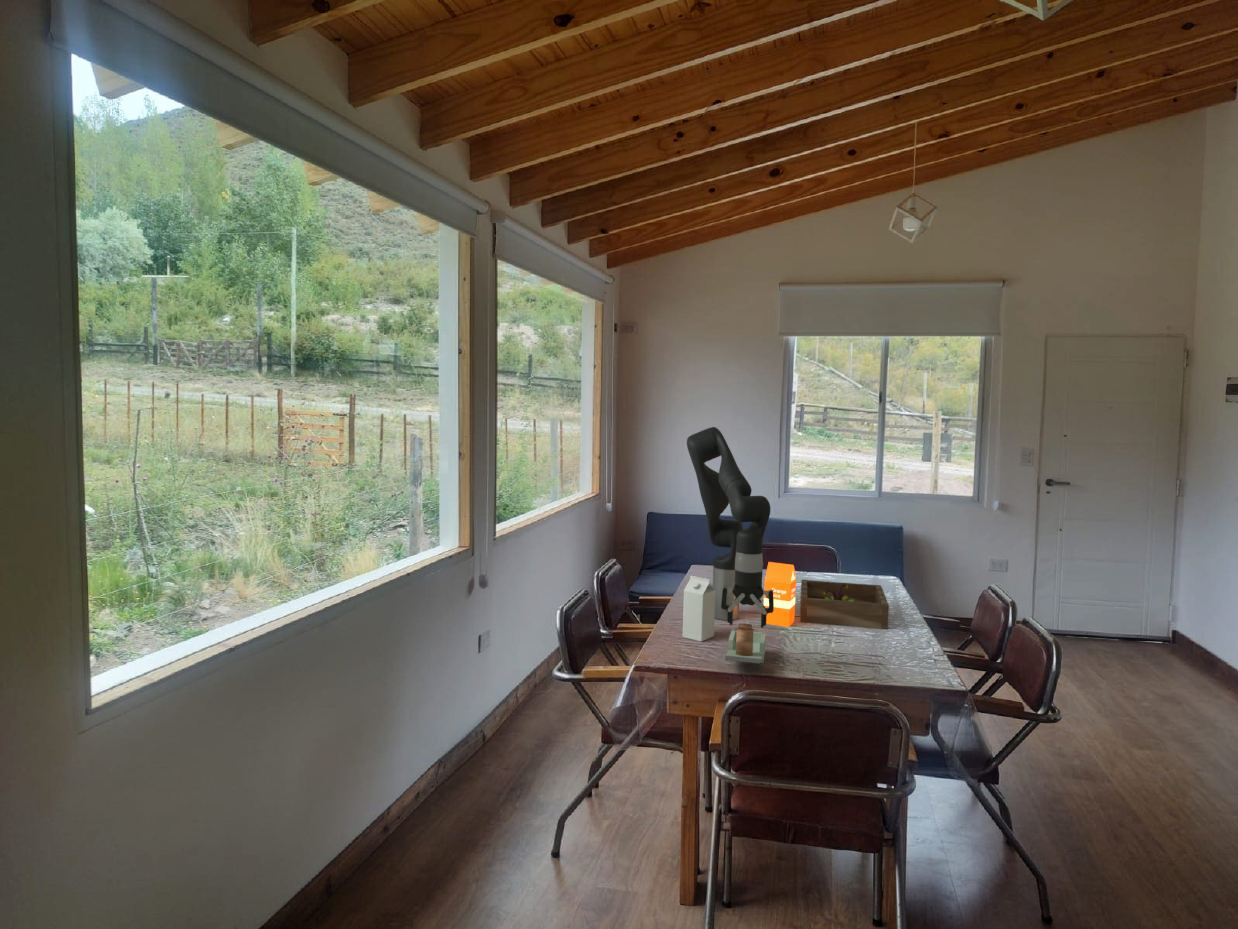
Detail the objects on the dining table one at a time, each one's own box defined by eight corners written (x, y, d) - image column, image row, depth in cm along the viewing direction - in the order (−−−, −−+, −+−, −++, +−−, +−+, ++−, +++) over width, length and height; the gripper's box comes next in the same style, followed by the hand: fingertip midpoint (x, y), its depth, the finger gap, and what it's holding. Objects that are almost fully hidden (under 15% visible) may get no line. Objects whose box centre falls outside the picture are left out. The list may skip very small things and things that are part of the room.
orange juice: (768, 617, 274) (771, 559, 272) (794, 621, 270) (797, 562, 268) (762, 623, 267) (764, 564, 265) (788, 627, 263) (791, 567, 262)
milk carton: (695, 632, 256) (696, 573, 254) (713, 637, 251) (716, 577, 250) (682, 637, 250) (684, 577, 249) (701, 642, 246) (703, 581, 244)
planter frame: (800, 600, 296) (801, 579, 296) (879, 607, 290) (881, 585, 290) (800, 622, 269) (801, 598, 269) (887, 629, 263) (889, 605, 262)
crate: (730, 649, 240) (731, 629, 239) (764, 652, 238) (765, 632, 237) (727, 660, 230) (728, 640, 229) (763, 663, 228) (764, 643, 227)
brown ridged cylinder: (735, 655, 221) (736, 625, 221) (736, 652, 225) (737, 622, 226) (752, 656, 220) (753, 626, 220) (752, 653, 224) (754, 624, 225)
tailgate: (728, 649, 229) (725, 656, 218) (762, 652, 227) (761, 659, 216) (728, 653, 229) (725, 660, 218) (762, 656, 227) (761, 663, 216)
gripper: (721, 569, 218) (719, 627, 220) (774, 573, 215) (772, 632, 217) (723, 563, 225) (722, 619, 227) (775, 566, 222) (773, 623, 224)
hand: (746, 625), depth 222 cm, fingers open, 8 cm apart
